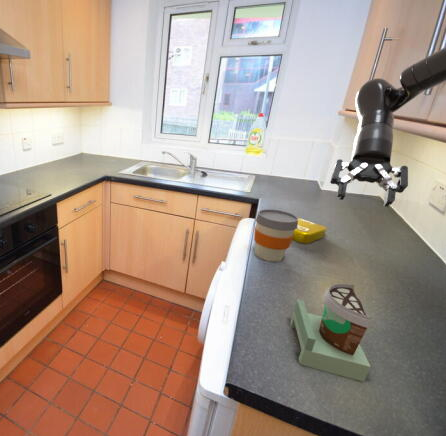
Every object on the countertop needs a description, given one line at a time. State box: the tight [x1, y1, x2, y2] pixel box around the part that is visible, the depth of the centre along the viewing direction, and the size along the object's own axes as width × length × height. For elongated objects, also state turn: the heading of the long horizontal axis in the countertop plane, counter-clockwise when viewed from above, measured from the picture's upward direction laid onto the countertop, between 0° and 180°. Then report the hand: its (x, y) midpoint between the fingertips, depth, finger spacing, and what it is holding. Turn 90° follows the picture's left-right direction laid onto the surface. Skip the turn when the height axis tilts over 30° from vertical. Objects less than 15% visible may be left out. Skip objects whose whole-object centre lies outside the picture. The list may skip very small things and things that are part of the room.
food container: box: [319, 283, 373, 355], centre depth 61 cm, size 12×6×10 cm, turn 157°
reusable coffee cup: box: [253, 208, 299, 263], centre depth 101 cm, size 13×13×15 cm
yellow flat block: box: [292, 217, 327, 245], centre depth 121 cm, size 15×15×5 cm
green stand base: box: [289, 299, 372, 383], centre depth 63 cm, size 11×13×7 cm
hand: (364, 201), depth 70 cm, fingers open, 8 cm apart
